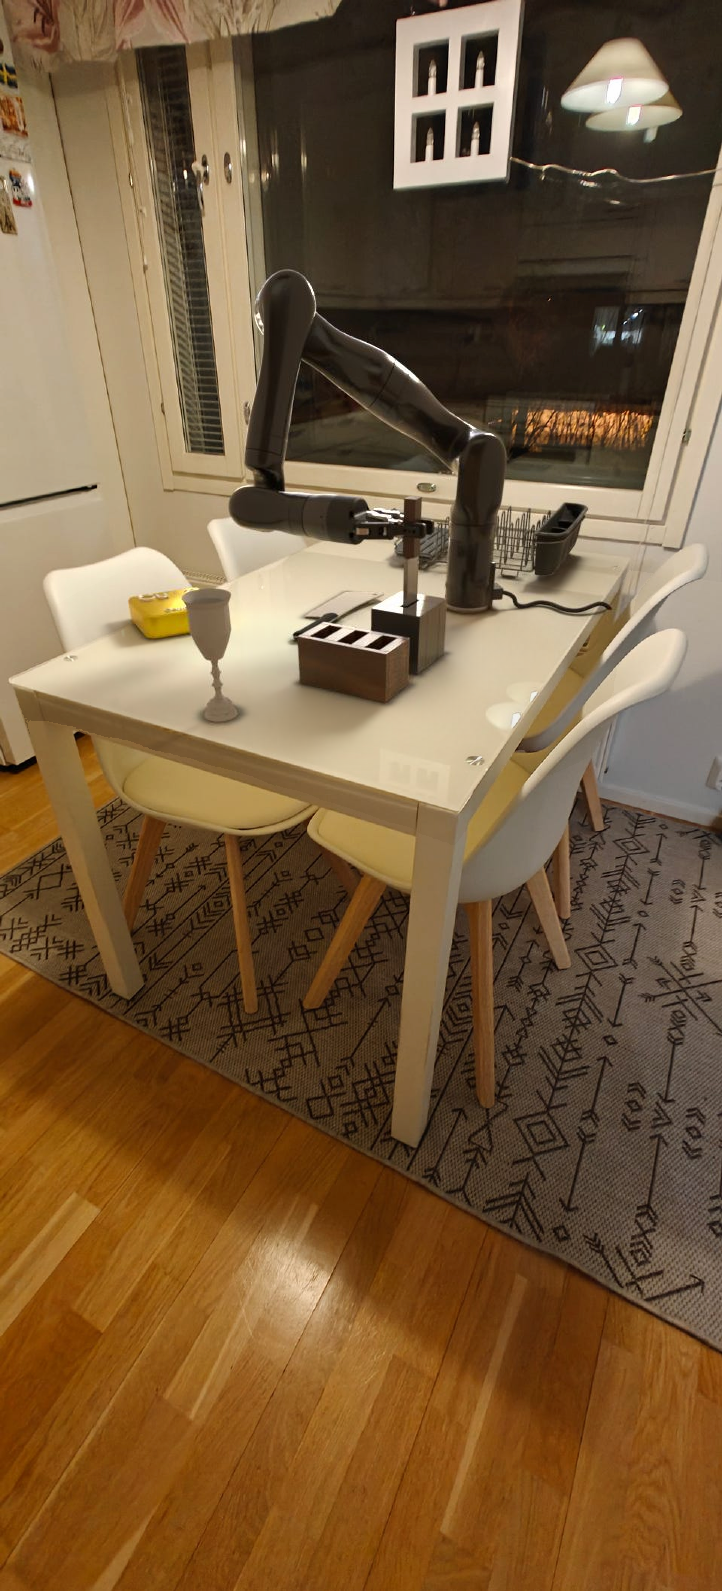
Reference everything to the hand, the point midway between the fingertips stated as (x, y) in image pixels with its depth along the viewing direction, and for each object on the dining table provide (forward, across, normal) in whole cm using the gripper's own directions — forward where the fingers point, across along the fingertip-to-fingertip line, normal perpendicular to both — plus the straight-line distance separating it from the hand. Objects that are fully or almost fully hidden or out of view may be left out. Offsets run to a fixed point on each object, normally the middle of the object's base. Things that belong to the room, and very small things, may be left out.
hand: (428, 529), depth 114 cm
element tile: (-52, -5, +22) cm, 57 cm away
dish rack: (-16, +70, +23) cm, 76 cm away
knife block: (-3, 0, +22) cm, 22 cm away
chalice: (-18, -34, +22) cm, 44 cm away
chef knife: (-3, 0, +16) cm, 17 cm away
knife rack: (-6, -14, +22) cm, 27 cm away
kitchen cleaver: (-27, +13, +22) cm, 38 cm away
